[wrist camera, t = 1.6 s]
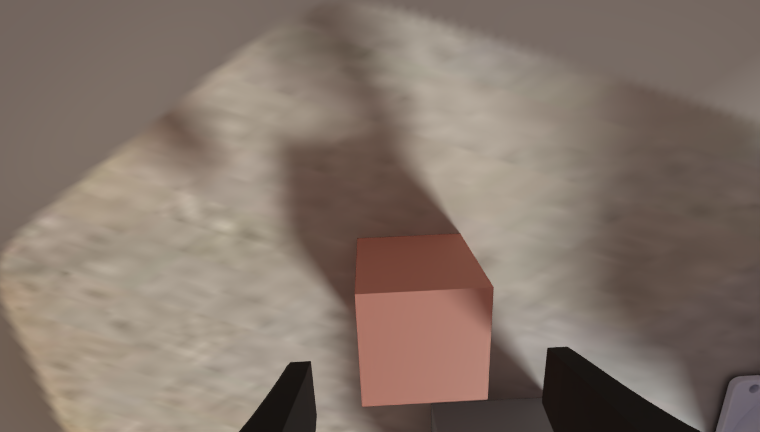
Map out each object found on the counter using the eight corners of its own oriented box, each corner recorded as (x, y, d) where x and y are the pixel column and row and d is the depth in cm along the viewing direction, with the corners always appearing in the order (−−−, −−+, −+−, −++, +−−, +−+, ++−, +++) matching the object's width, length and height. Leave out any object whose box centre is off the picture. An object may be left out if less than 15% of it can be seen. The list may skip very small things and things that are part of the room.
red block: (459, 233, 18) (493, 287, 13) (457, 321, 19) (487, 399, 15) (357, 238, 18) (354, 294, 13) (362, 327, 19) (362, 406, 15)
